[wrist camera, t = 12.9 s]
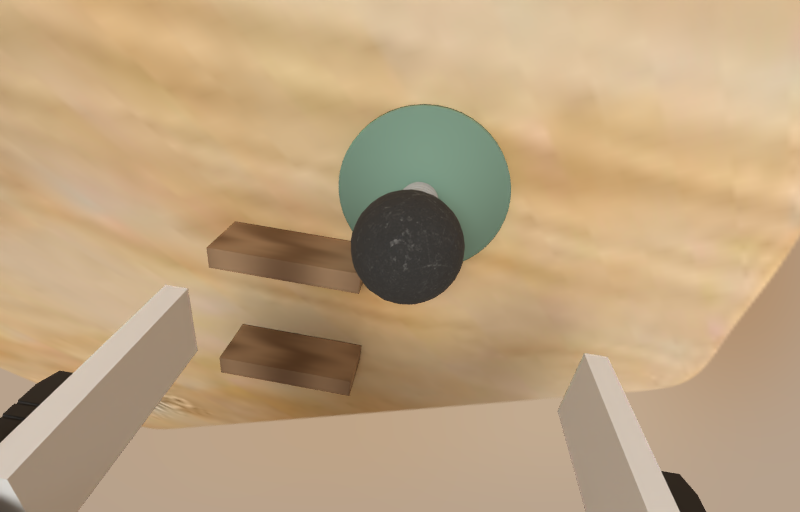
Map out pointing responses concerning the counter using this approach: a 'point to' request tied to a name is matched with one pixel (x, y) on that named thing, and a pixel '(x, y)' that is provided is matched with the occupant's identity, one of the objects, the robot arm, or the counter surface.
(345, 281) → the pair of wooden planks
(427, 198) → the light bulb
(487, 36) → the counter surface
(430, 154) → the pad
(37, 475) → the robot arm
